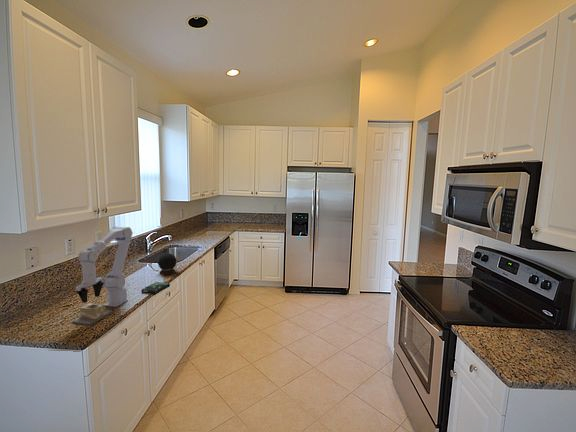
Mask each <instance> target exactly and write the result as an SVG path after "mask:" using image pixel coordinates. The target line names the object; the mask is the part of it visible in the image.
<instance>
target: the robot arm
mask: <svg viewBox="0 0 576 432" xmlns="http://www.w3.org/2000/svg"><path fill="white" fill-rule="evenodd" d="M133 233H134V232H133V230H132V228H131V227H130V226H112V227H111V228H109V231H108V233H107V234H105V236H104V237H103V238H102V239H101V240H95V241H94V242H93V243H92V244H91V245H90V246H88V247H87V248H86V249H85V250H82V251H80V252H79V254H78V256H77V260H78V261H79V262H80V265H81V272H82V273H81V274H82V281H81V283H80V284H79V285H77V286H75V292H76V293H77V294H78V295H79V298H80V299H81V303H84V304H87V303H88V293H89V289H86V288H88V287H90V286H92V288H93V292H94V297H97V298H99V297H100V295H101V291H102V288H105V290H106V291H107V292H106V293H107V303H104V304H103V305H104V307H106V306H107V307H114V308H117V307H119V306H120V305H122V304H124V303H127V302H128V301H129V298H128V295H127V288H126V287H125V285H126V277H127V276H126V275H125V273H124V272H123V269H124V266H125V262H126V258H127V254H128V252H129V251H128V250H129V247H130V243H131V240H132V236H133ZM114 240H115V242H117V243H118V247H117V249H116V254H115V256H114V260H113V264H112V266H111V270H110V271H109V272H107V273H106V274H105V275H106V276H105V277H103V276H102V277H97V268H96V267H97V266H96V261H97V260H98V259H99V257H100V254H101V253H103V252H104V251H105V250H106V248H107V245H109V244H110V243H111V242H112V241H114Z"/></svg>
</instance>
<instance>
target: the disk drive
mask: <svg viewBox="0 0 576 432" xmlns="http://www.w3.org/2000/svg"><path fill="white" fill-rule="evenodd" d="M169 287H171V284H170V282H161V281H160V282H159V281H155V282H153V283H151V284H150V285H147V286H145V287H144V288H141V293H142V294H150V295H157V294H159V293H161V292H162V291H164V290H166V289H168V288H169Z"/></svg>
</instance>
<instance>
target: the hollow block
mask: <svg viewBox="0 0 576 432" xmlns="http://www.w3.org/2000/svg"><path fill="white" fill-rule="evenodd" d="M105 310H106V309H105V305H104V304H100V303H92V302H91V303H90V302H89V303H86V304H84V305H83V306H80V307H79V311H80V312H79V313H80V314H79V316H80V317H84V318H91V319H97V318H99V317H101V316H102V315H104V314H105Z"/></svg>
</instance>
